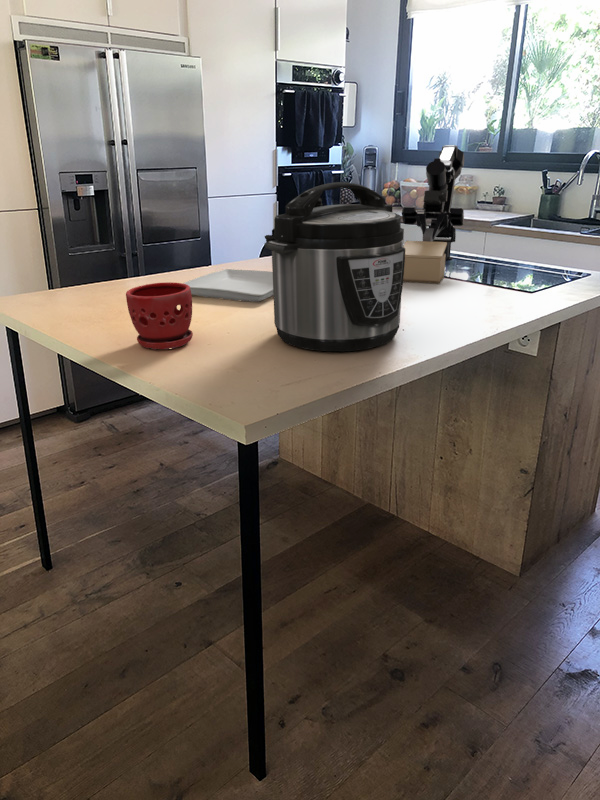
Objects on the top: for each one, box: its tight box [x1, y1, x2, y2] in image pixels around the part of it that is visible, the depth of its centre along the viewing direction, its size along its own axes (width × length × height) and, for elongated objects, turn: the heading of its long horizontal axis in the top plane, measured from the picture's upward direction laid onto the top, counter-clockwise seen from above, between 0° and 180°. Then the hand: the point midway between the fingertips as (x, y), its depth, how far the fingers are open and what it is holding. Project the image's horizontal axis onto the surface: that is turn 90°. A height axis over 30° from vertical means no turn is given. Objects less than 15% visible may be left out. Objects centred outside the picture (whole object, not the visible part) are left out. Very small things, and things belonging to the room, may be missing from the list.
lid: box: [403, 227, 447, 259], centre depth 192 cm, size 17×12×3 cm
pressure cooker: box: [264, 181, 405, 352], centre depth 132 cm, size 30×28×32 cm
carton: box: [403, 254, 446, 285], centre depth 192 cm, size 10×12×7 cm
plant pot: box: [125, 281, 194, 350], centre depth 133 cm, size 13×13×12 cm
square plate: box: [182, 268, 273, 303], centre depth 182 cm, size 27×27×4 cm
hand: (428, 238), depth 197 cm, fingers closed on lid, 2 cm apart
